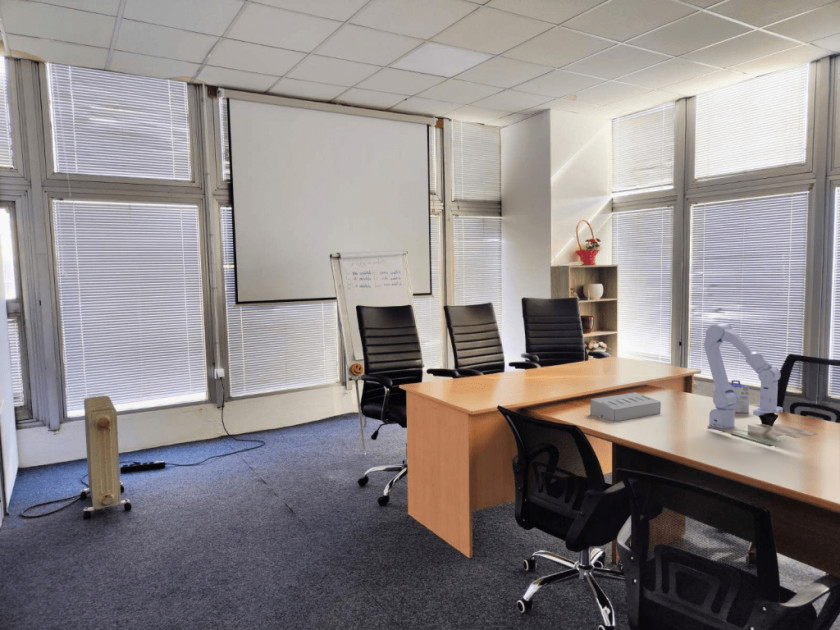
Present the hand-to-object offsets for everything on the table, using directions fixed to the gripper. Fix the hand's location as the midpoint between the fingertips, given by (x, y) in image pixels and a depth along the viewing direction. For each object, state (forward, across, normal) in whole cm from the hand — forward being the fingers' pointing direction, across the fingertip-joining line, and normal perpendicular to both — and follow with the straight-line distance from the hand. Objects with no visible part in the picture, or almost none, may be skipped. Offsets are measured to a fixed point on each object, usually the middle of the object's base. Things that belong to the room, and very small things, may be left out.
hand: (767, 431), depth 221 cm
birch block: (+1, -5, 0) cm, 5 cm away
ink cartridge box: (+3, +26, +34) cm, 43 cm away
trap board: (+2, +4, 0) cm, 5 cm away
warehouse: (+3, -24, +52) cm, 57 cm away
